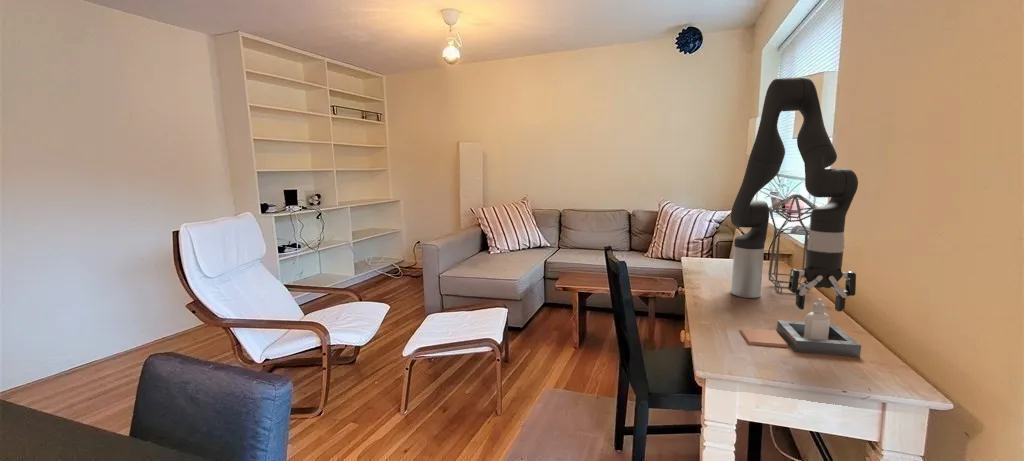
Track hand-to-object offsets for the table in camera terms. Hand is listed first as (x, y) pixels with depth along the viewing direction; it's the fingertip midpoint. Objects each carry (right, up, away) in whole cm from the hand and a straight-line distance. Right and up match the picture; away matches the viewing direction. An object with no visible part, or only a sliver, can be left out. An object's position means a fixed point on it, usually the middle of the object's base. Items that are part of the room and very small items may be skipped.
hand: (819, 309), depth 114 cm
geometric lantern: (+21, -1, +46) cm, 50 cm away
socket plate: (0, -9, +2) cm, 9 cm away
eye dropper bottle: (0, -9, +2) cm, 9 cm away
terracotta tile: (-12, -9, +5) cm, 16 cm away
